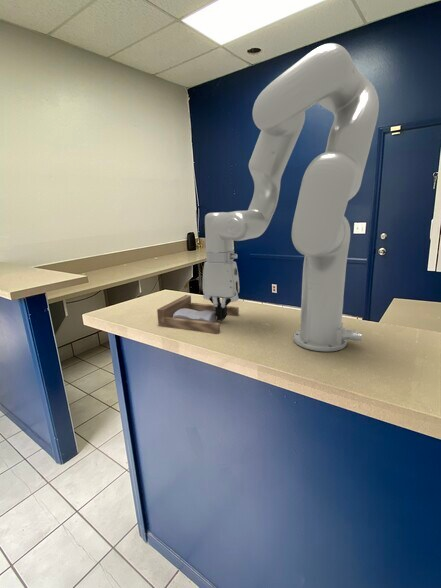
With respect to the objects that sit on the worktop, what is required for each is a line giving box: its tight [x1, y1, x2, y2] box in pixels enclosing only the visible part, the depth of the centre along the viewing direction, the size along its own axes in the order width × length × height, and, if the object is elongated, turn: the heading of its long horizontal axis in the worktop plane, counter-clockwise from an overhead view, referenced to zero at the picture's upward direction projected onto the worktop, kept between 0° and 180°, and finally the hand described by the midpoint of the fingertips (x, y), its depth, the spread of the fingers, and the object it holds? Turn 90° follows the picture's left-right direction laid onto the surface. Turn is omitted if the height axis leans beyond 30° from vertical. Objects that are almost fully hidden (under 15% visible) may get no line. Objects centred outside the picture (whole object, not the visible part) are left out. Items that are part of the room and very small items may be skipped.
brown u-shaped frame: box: [156, 294, 240, 334], centre depth 94 cm, size 19×17×5 cm
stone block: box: [173, 308, 217, 323], centre depth 93 cm, size 12×5×10 cm
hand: (221, 318), depth 92 cm, fingers closed
